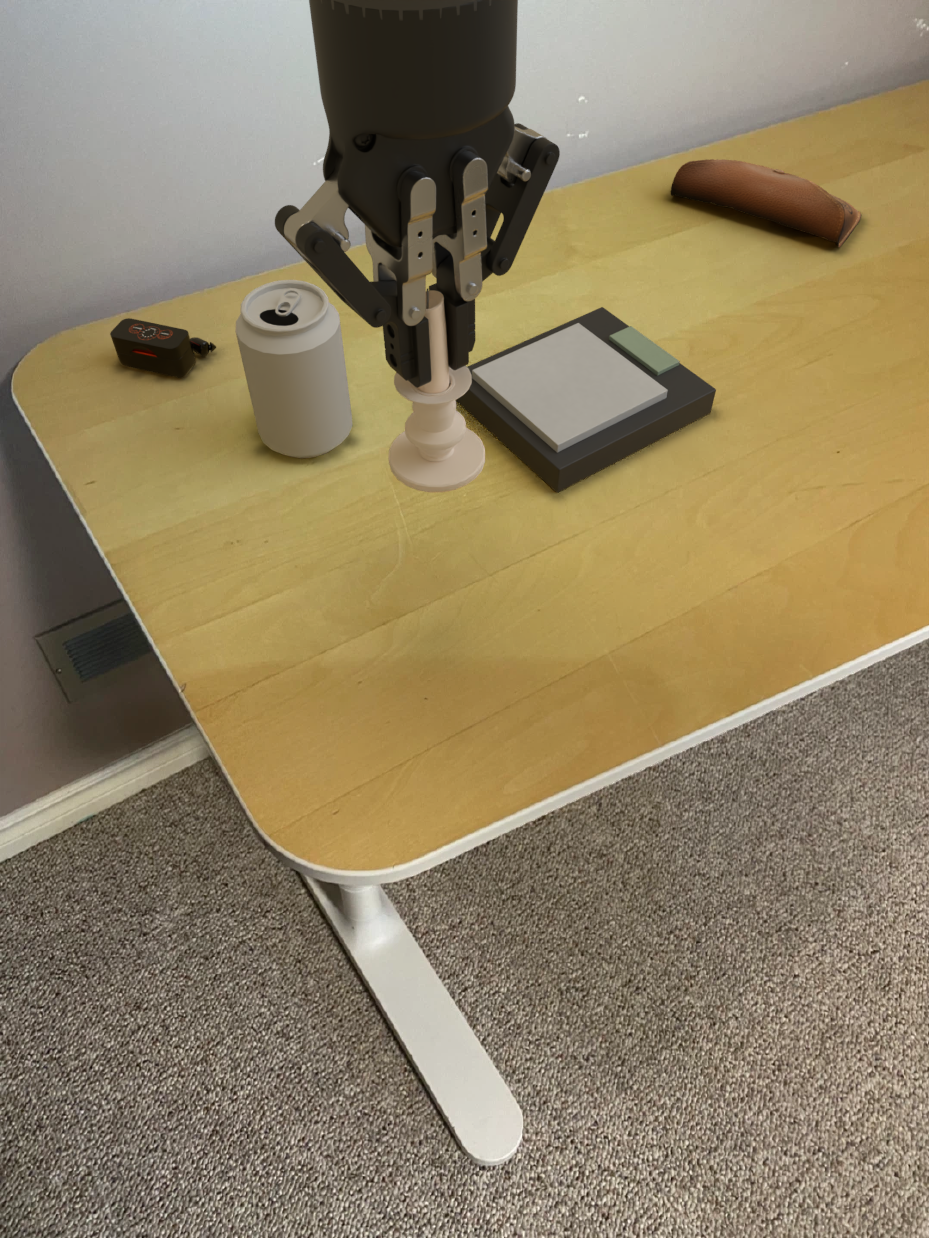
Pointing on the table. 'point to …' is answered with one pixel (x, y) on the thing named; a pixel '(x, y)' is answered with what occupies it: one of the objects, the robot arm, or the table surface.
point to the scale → (583, 397)
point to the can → (295, 368)
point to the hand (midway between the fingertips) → (432, 367)
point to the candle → (436, 420)
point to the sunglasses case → (767, 196)
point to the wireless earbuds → (157, 347)
